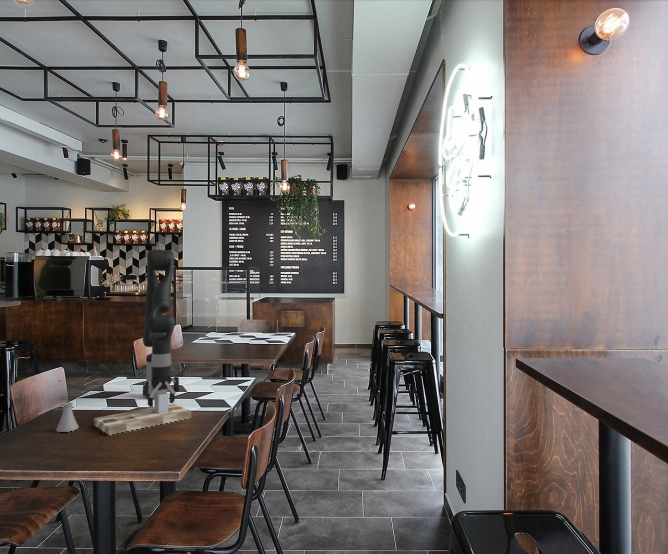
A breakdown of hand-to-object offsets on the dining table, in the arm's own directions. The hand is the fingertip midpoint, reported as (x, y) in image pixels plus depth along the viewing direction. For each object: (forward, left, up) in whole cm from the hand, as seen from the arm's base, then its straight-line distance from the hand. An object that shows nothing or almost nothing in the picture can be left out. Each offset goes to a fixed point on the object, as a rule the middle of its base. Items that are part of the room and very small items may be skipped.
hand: (161, 404), depth 199 cm
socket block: (0, -7, -6) cm, 9 cm away
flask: (-9, -32, -6) cm, 34 cm away
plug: (0, 0, -6) cm, 6 cm away
